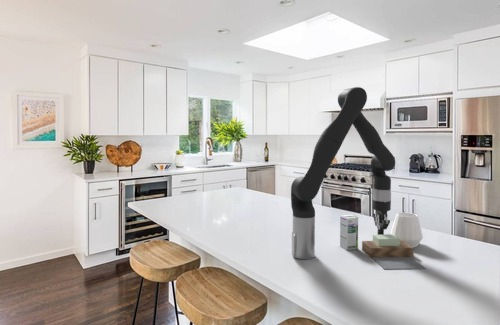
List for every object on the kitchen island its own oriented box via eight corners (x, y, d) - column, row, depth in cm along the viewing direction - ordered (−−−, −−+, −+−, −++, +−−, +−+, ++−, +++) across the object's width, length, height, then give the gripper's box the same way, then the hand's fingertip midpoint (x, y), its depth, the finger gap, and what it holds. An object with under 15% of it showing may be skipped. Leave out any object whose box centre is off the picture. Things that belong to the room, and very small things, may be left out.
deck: (369, 257, 131) (370, 248, 130) (362, 249, 139) (362, 240, 139) (413, 257, 131) (413, 247, 130) (402, 249, 140) (402, 240, 139)
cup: (389, 246, 144) (390, 216, 143) (391, 237, 156) (392, 209, 154) (422, 251, 138) (423, 219, 136) (422, 241, 149) (423, 212, 148)
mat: (384, 269, 119) (384, 268, 119) (372, 258, 130) (372, 257, 130) (426, 269, 119) (426, 268, 119) (411, 257, 130) (411, 257, 130)
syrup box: (346, 250, 139) (347, 218, 138) (339, 245, 145) (340, 214, 143) (358, 249, 140) (358, 217, 139) (350, 244, 146) (351, 214, 145)
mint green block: (378, 246, 133) (378, 239, 132) (372, 241, 139) (373, 234, 138) (399, 245, 133) (400, 238, 132) (393, 241, 139) (393, 234, 138)
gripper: (367, 196, 146) (366, 232, 148) (379, 202, 133) (378, 242, 135) (383, 196, 146) (382, 232, 148) (397, 202, 133) (395, 242, 135)
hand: (380, 237), depth 141 cm, fingers closed
